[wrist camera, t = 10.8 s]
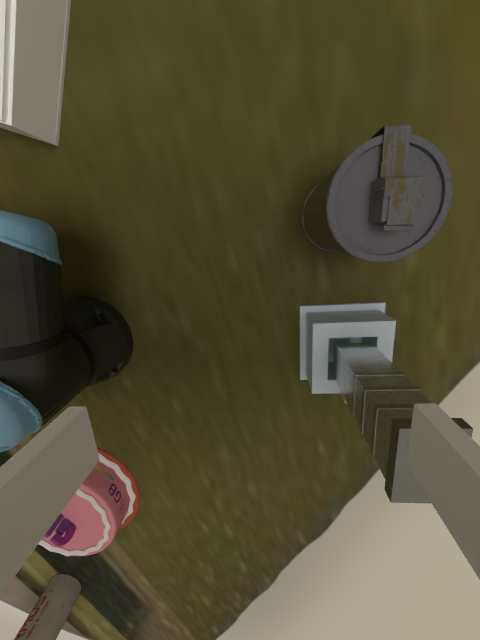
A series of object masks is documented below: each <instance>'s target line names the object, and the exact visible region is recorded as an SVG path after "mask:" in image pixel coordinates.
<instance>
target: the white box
mask: <svg viewBox="0 0 480 640" xmlns="http://www.w3.org/2000/svg"><path fill="white" fill-rule="evenodd" d="M70 6H71V0H0V128H3V129H6V130H9V131H12V132H15V133H18V134H22V135H25V136H28V137H31V138H34V139H37V140H40V141H43V142H46V143H49V144H52V145H56V146H58V144H59V132H60V121H61V109H62V98H63V86H64V75H65V63H66V52H67V40H68V29H69V17H70Z"/></svg>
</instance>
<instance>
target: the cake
mask: <svg viewBox="0 0 480 640" xmlns="http://www.w3.org/2000/svg"><path fill="white" fill-rule="evenodd" d="M97 451H98V455H99V458H100V460H99V461H98V463H97V464H96V465H95V467H94V468H93V470H92V471H91V472H90V474H89V475H88V476H87V478H86V479H85V481H84V482H83V483H82V485H81V486H80V487H79V489H78V490H77V492H76V493H75V494H74V496H73V497H72V498H71V500H70V501H69V502H68V504H67V505H66V507H65V508H64V509H63V511H62V512H61V513H60V515H59V516H58V518H57V519H56V520H55V522H54V523H53V524H52V526H51V527H50V529H49V530H48V531H47V533H46V534H45V535H44V537H43V538H42V540H41V541H40V542H39V545H41V546H43V547H45V548H46V549H47V550H49V551H51V552H57V553H61V554H63V555H65V556H87V555H92V554H95V553H98V552H100V551H102V550H103V549H105V548H106V547H107V546H108V545H109V544H110V543H111V542H112V540H113V539H114V537H115V535H116V533H117V532H118V530H119V529H121V528H122V527H124V526H126V525H127V524H128V523H129V522H130V521H131V520H132V519H133V518H134V516H135V515H136V513H137V511H138V509H139V505H140V493H139V488H138V485H137V483H136V481H135V479H134V477H133V475H132V474H131V473H130V471H129V470H128V469H127V468H126V467H125V465H124V464H122V463H121V462H120V461H119V460H118V459H117V458H115V457H114V456H112V455H111V454H109V453H107V452H106V451H104V450H102V449H99V448H97Z"/></svg>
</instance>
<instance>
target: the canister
mask: <svg viewBox="0 0 480 640" xmlns="http://www.w3.org/2000/svg"><path fill="white" fill-rule="evenodd" d="M411 127H412V126H411V124H406V125H392V126H383V127H382V128H381V129H380V130H379V131H378V132H377V133H376V134H375V135H373V136H372V137H371V138H370V139H369V140H368V141H366V142H364V143H363V144H361V145H360V146H358V147H357V148H356V149H355V150H354V151H352V152H351V153H350V154H349V155H348V156H347V157H346V158H345V159H344V161H343V162H342V163H341V165H340V166H339V167H338V168H337V169H336V170H335V171H334V172H333V173H331V174H330V175H329V176H328V177H327V178H326V179H325V180H323V181H321V182H320V183H319V184H317V185H316V186H315V187H314V188H313V189H312V190H311V192H310V193H309V195H308V196H307V198H306V200H305V202H304V205H303V209H302V215H301V216H302V227H303V230H304V233H305V235H306V236H307V238H308V239H309V240H310V242H311V243H312V244H313V245H315V246H316V247H318V248H319V249H322V250H324V251H328V252H340V253H344V254H349V255H353V256H354V257H356V258H358V259H361V260H365V261H369V262H379V263H380V262H389V261H396V260H398V259H401V258H404V257H406V256H409V255H411V254H412V253H414V252H416V251H418V250H419V249H420V248H422V247H423V246H424V245H426V244H427V243H428V242H429V241H430V240H431V239H432V238H433V236H434V235H435V234H436V233H437V232H438V230H439V228H440V227H441V225H442V224H443V222H444V220H445V218H446V216H447V213H448V211H449V208H450V206H451V200H452V193H453V181H452V175H451V170H450V166H449V164H448V162H447V161H446V159H445V157H444V155H443V153H442V152H441V151H440V150H439V149H438V148H437V147H436V146H435V145H434V144H433V143H432V142H430V141H429V140H427V139H425V138H423V137H421V136H419V135H415V134H411Z"/></svg>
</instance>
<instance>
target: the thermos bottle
mask: <svg viewBox="0 0 480 640" xmlns="http://www.w3.org/2000/svg"><path fill="white" fill-rule="evenodd" d="M80 592H81V585H80V583H79V581H78V580H77V579H75V578H74V577H72V576H70V575H66V574H57V575H55V576H53V578H52V579H51V580H50V582H49V584H48V585H47V587H46V589H45V590H44V592H43V593H42V595H41V597H40V598H39V600H38V602H37V603H36V605H35V606H34V608H33V610H32V611H31V613H30V615H29V616H28V618H27V619H26V621H25V623H24V625H23V626H22V628H21V629H20V631H19V633H18V634H17V636H16V637H15V639H14V640H56V638H57V636H58V634H59V632H60V630H61V629H62V627H63V625H64V623H65V621H66V619H67V617H68V615H69V613H70V611H71V609H72V607H73V605H74V603H75V601H76V599H77V597H78V596H79V594H80Z"/></svg>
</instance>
